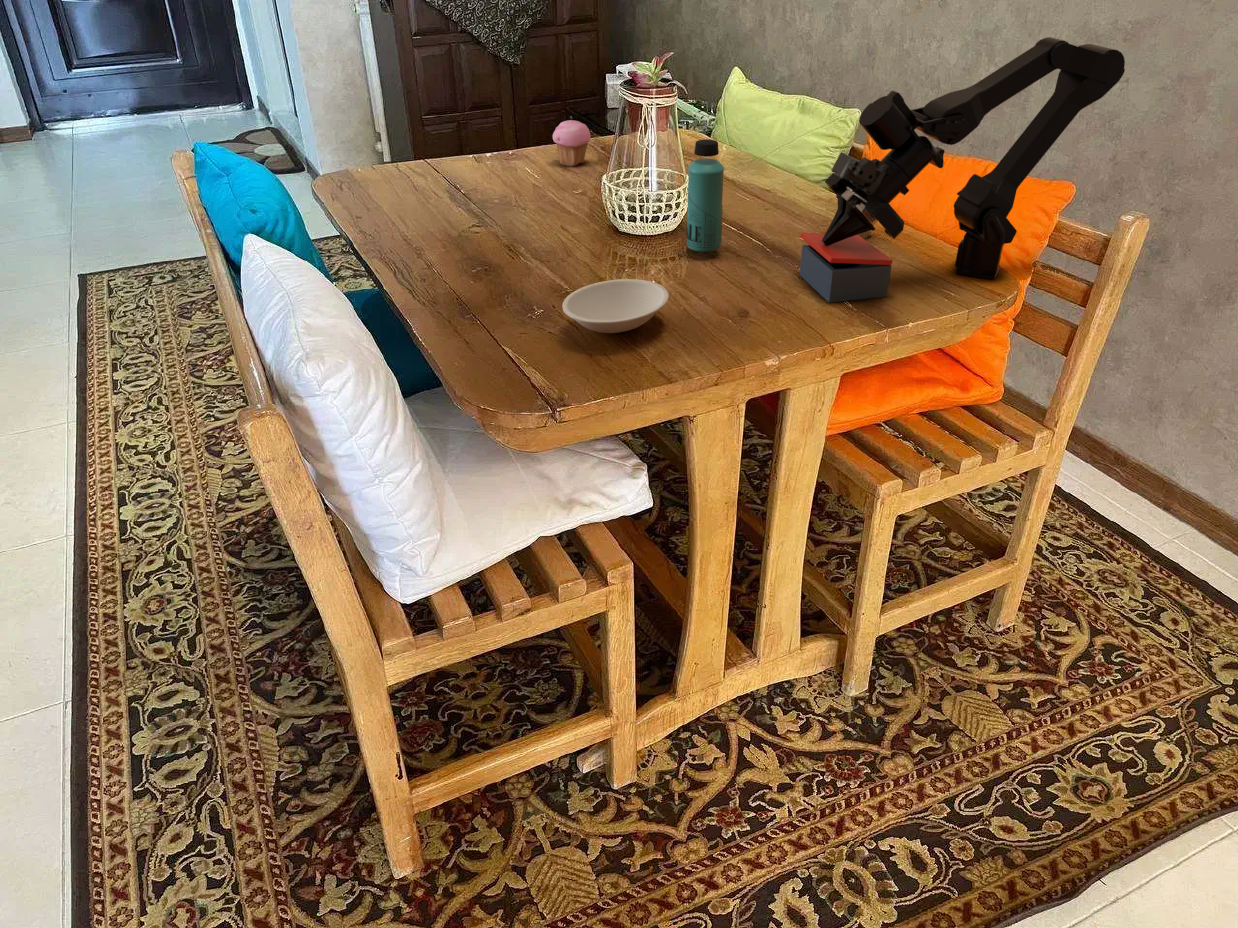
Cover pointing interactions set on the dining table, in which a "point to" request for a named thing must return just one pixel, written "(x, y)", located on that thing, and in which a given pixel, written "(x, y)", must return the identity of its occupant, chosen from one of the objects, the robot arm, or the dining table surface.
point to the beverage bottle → (705, 198)
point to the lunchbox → (843, 277)
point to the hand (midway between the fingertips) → (824, 243)
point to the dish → (615, 304)
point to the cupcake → (571, 142)
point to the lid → (847, 250)
